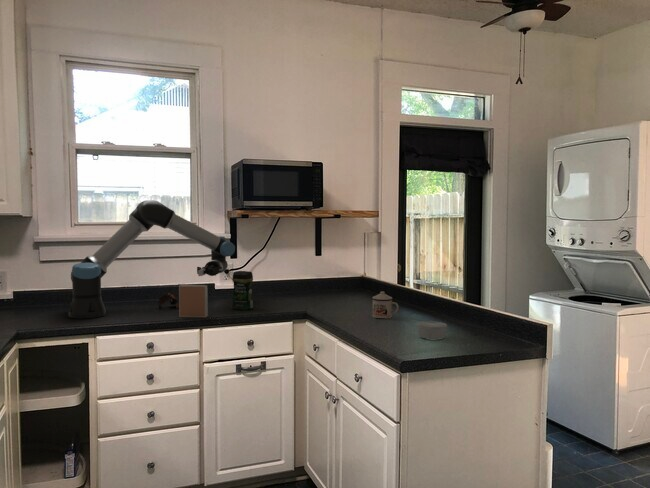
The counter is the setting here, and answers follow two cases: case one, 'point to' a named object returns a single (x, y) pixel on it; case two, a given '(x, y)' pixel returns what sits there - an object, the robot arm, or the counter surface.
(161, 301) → the dark brown irregular piece
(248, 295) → the coffee jar
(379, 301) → the teacup with lid
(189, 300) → the picture frame
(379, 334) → the counter surface
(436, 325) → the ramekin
